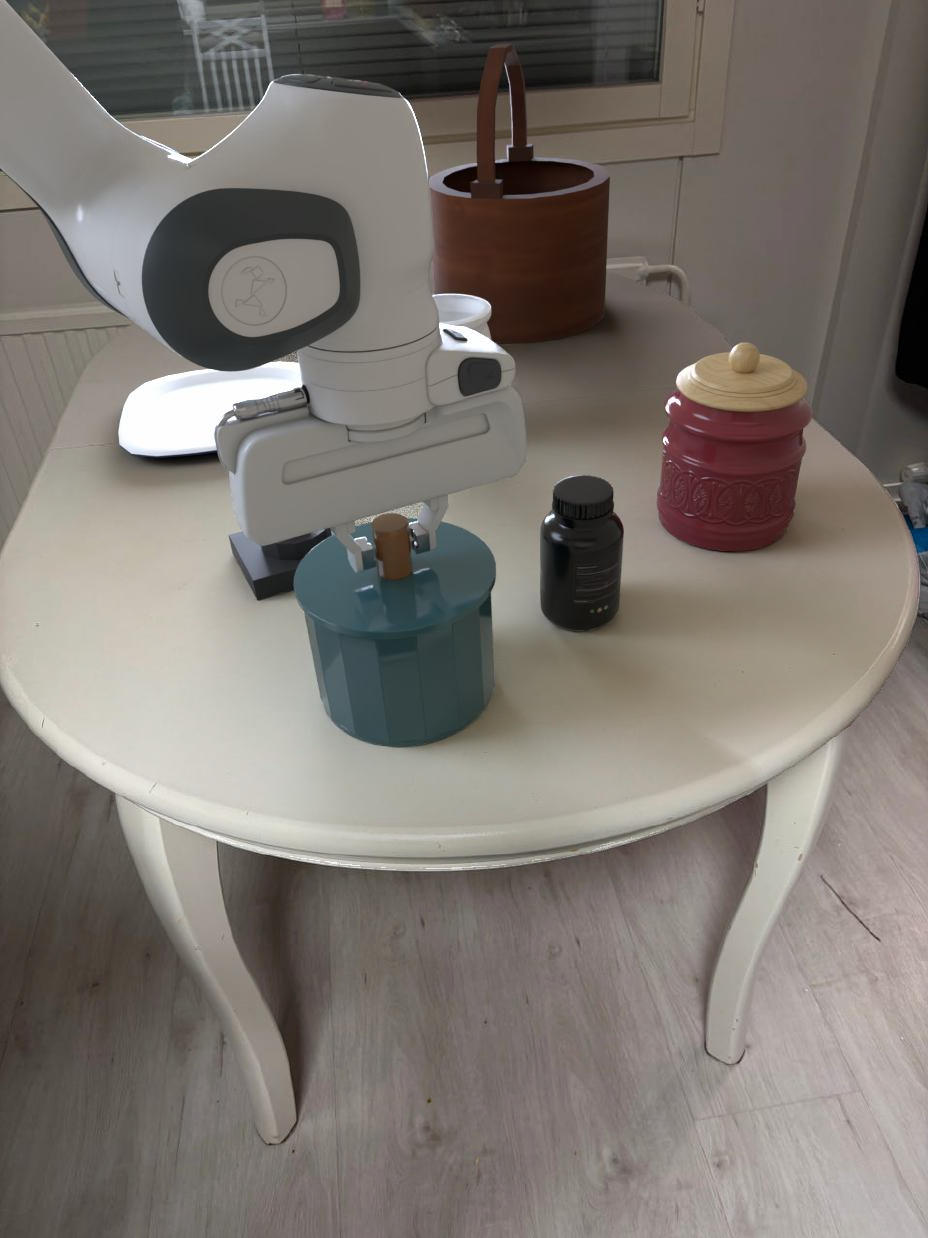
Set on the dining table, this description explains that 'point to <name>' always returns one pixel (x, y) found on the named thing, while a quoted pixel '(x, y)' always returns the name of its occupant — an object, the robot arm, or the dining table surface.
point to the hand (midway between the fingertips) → (393, 557)
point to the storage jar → (406, 680)
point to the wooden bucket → (521, 226)
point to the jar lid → (395, 581)
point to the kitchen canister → (733, 450)
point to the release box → (273, 561)
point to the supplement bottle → (581, 555)
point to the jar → (464, 311)
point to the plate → (194, 407)
